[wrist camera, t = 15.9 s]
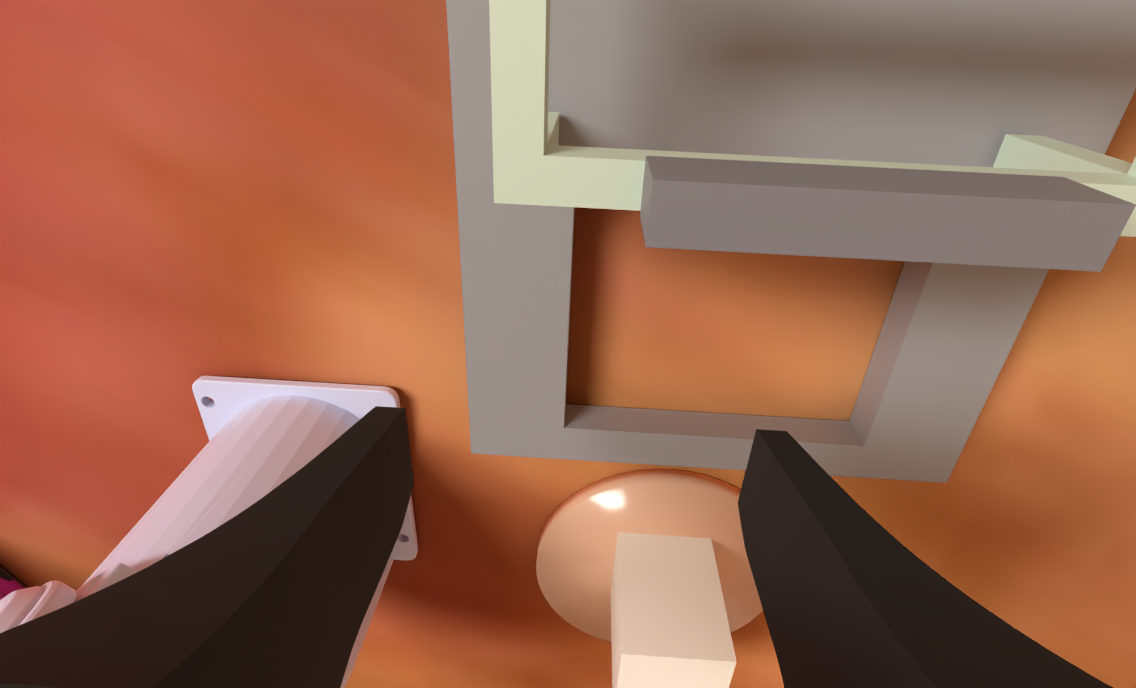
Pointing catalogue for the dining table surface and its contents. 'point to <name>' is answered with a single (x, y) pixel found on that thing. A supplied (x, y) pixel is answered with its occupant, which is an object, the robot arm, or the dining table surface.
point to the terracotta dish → (643, 506)
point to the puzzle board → (784, 129)
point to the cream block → (668, 614)
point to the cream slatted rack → (806, 185)
